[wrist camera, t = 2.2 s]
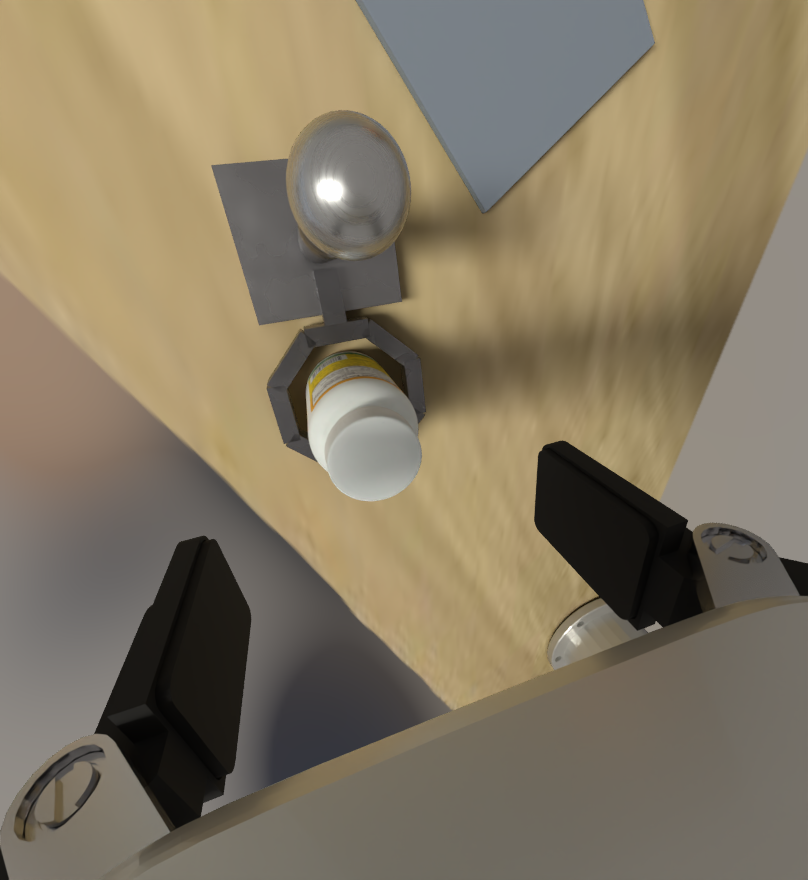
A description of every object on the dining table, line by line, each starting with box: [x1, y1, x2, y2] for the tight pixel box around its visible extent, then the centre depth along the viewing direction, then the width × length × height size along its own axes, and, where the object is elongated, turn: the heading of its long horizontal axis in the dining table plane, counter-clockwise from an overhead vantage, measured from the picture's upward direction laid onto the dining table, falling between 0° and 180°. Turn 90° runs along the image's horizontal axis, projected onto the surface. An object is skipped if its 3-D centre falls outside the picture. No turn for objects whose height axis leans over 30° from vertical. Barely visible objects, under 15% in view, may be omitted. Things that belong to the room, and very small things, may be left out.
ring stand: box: [211, 110, 426, 462], centre depth 15 cm, size 16×9×15 cm, turn 8°
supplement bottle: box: [306, 351, 422, 501], centre depth 19 cm, size 5×5×10 cm
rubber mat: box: [356, 0, 655, 213], centre depth 17 cm, size 12×12×1 cm
